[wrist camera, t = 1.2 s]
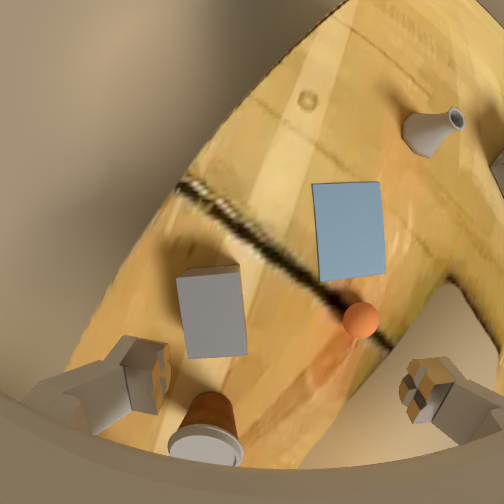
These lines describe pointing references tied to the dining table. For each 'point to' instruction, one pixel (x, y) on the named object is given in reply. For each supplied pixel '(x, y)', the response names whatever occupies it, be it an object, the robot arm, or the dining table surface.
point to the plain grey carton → (212, 311)
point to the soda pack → (499, 170)
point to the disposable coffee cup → (208, 433)
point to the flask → (430, 130)
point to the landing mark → (349, 230)
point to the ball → (360, 320)
